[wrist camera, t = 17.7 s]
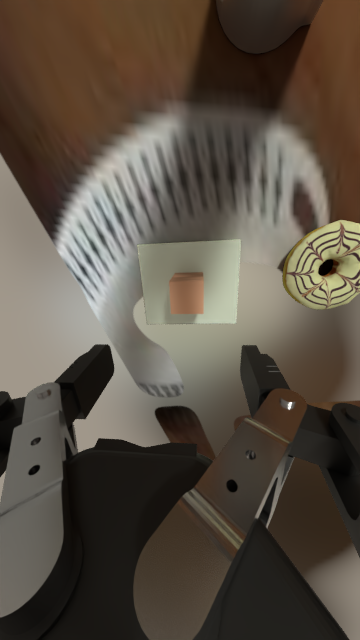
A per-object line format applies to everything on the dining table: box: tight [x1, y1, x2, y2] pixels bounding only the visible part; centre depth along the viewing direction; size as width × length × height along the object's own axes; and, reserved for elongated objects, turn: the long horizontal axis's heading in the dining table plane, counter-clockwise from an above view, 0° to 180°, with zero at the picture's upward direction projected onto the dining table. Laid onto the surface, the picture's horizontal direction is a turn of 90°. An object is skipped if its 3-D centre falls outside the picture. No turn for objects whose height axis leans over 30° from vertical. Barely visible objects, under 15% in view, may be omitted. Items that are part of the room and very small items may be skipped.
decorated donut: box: [283, 220, 360, 310], centre depth 26 cm, size 10×11×4 cm
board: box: [137, 239, 241, 324], centre depth 30 cm, size 14×12×1 cm
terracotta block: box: [169, 272, 204, 314], centre depth 27 cm, size 4×4×6 cm
